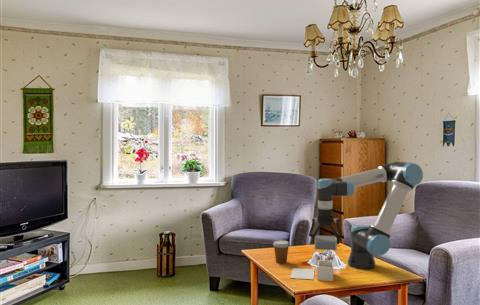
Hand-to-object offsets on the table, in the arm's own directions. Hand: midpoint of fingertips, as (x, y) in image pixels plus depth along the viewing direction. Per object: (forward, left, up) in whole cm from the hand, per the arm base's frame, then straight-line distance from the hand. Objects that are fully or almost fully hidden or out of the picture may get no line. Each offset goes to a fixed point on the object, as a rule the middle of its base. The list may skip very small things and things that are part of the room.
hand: (325, 249), depth 215 cm
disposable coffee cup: (+26, -21, -15) cm, 37 cm away
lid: (0, 0, +2) cm, 2 cm away
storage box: (0, 0, -14) cm, 14 cm away
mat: (+12, -2, -14) cm, 19 cm away
